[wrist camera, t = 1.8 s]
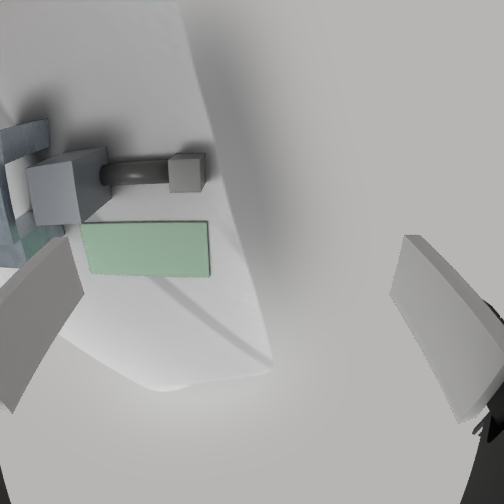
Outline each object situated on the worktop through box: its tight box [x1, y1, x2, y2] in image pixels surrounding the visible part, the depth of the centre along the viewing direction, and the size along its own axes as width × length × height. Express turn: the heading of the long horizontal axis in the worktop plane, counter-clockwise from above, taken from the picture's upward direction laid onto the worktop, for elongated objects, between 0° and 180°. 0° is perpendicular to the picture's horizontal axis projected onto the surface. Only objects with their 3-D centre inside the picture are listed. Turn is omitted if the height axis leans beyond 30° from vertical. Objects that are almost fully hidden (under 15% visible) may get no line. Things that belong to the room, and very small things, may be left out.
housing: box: [0, 119, 65, 268], centre depth 25 cm, size 6×15×10 cm, turn 179°
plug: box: [25, 147, 206, 226], centre depth 27 cm, size 17×6×8 cm, turn 89°
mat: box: [80, 221, 210, 277], centre depth 34 cm, size 16×7×1 cm, turn 89°
